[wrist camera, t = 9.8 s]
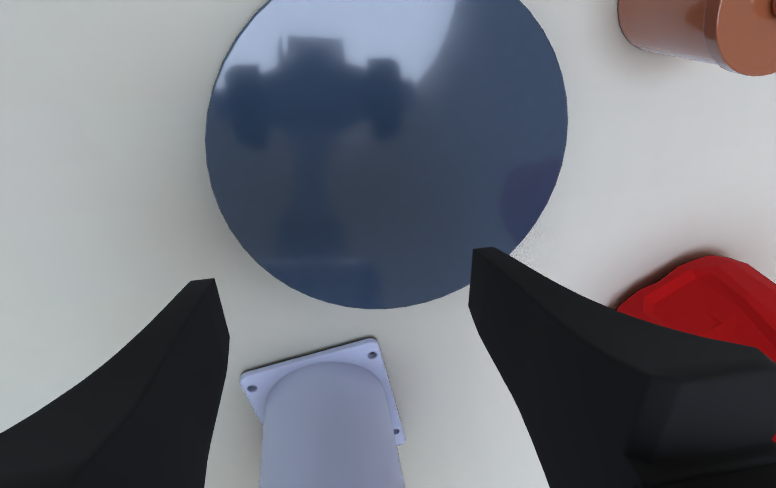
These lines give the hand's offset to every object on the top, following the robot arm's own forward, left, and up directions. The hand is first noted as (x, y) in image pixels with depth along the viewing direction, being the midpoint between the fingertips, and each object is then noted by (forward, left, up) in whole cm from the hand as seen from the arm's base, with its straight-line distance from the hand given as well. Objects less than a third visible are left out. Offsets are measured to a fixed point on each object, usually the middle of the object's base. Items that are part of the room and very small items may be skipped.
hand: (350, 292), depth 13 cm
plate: (0, -3, -9) cm, 10 cm away
